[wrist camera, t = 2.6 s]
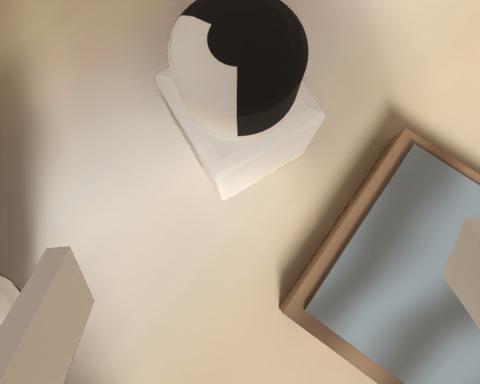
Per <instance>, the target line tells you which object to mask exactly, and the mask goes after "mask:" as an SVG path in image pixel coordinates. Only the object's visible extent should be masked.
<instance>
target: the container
mask: <svg viewBox="0 0 480 384" xmlns="http://www.w3.org/2000/svg"><path fill="white" fill-rule="evenodd" d="M168 62H169V67H167V68H165V69H163V70H161V71H160V72H158V73H156V74H155V77H154V80H155V83H156V85H157V87H158V89H159V91H160V93H161V95H162V97H163V99H164V101H165V103H166V105H167V107H168V109H169V111H170V113H171V115H172V117H173V119H174V121H175V123H176V125H177V126H178V128H179V130H180V131H181V133H182V135H183V136H184V138H185V140H186V141H187V143H188V145H189V146H190V148H191V150H192V151H193V153H194V155H195V156H196V158H197V160H198V161H199V163H200V165H201V166H202V168H203V170H204V171H205V173H206V175H207V176H208V178H209V180H210V181H211V183H212V185H213V186H214V188H215V190H216V191H217V193H218V195H219V196H220V198H221V199H223V200H226V199H228V198H230V197H232V196H233V195H235V194H237V193H239V192H240V191H242V190H244V189H245V188H247V187H249V186H250V185H252V184H254V183H255V182H257V181H259V180H260V179H262V178H264V177H265V176H267V175H269V174H271V173H272V172H274V171H276V170H277V169H279V168H281V167H282V166H284V165H286V164H287V163H289V162H291V161H292V160H294V159H296V158H297V157H299V156H301V155H303V154H304V153H305V151H306V149H307V148H308V146H309V144H310V143H311V141H312V139H313V138H314V136H315V134H316V133H317V131H318V129H319V128H320V126H321V124H322V122H323V121H324V119H325V116H326V113H325V110H324V109H323V108H322V106H321V105H320V103H319V102H318V100H317V99H316V97H315V96H314V95H313V93H312V92H311V90H310V89H309V87H308V86H307V84H306V83H305V81H304V80H303V76H304V73H305V69H306V66H307V62H308V42H307V37H306V34H305V31H304V28H303V26H302V24H301V22H300V21H299V19H298V17H297V16H296V15H295V14H294V12H293V11H292V10H291V9H290V8H289V7H288V6H287V5H286V4H284V3H283V2H282V1H280V0H196V1H195V2H194V3H192V4H191V5H190V6H189V7H188V8H187V9H185V10H184V12H183V13H182V14H181V15H180V17H179V18H178V19H177V21H176V23H175V24H174V27H173V29H172V31H171V34H170V38H169V42H168Z"/></svg>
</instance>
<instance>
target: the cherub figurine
mask: <svg viewBox="0 0 480 384" xmlns="http://www.w3.org/2000/svg"><path fill="white" fill-rule="evenodd" d="M19 294H20V292H19V291H18V289H17V288H16V287H15V286H14V284H13V283H12V281H10V280H8V279H6V278H5V277H2V276H0V326H1V324H2V322H3V321H4V319H5V317H6V316H7V314H8V312H9V311H10V309H11V307H12V306H13V304H14V302H15V301H16V299H17V297H18V296H19Z"/></svg>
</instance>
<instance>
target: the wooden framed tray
mask: <svg viewBox="0 0 480 384" xmlns="http://www.w3.org/2000/svg"><path fill="white" fill-rule="evenodd" d="M473 217H480V174H478V173H477V172H475V171H474V170H472V169H470V168H469V167H467V166H466V165H464V164H463V163H461V162H459V161H458V160H456V159H455V158H453V157H452V156H450V155H448V154H447V153H445V152H444V151H442V150H441V149H439V148H437V147H436V146H434V145H433V144H431V143H430V142H428V141H426V140H425V139H423V138H422V137H420V136H419V135H417V134H415V133H414V132H412V131H411V130H409V129H408V128H405V129H404V130H402V131H401V132H400V133H399V134H397V135H396V136H395V137H394V138H392V139H391V141H390V142H389V144H388V145H387V147H386V148H385V150H384V151H383V153H382V154H381V156H380V157H379V159H378V160H377V162H376V163H375V165H374V166H373V168H372V169H371V171H370V172H369V174H368V175H367V177H366V178H365V180H364V181H363V183H362V184H361V186H360V187H359V189H358V190H357V192H356V193H355V195H354V196H353V198H352V199H351V201H350V202H349V204H348V205H347V207H346V208H345V210H344V211H343V213H342V214H341V216H340V217H339V218H338V220H337V221H336V223H335V224H334V226H333V227H332V229H331V230H330V232H329V233H328V235H327V236H326V238H325V239H324V241H323V242H322V244H321V245H320V247H319V248H318V250H317V251H316V253H315V254H314V256H313V257H312V259H311V260H310V262H309V263H308V265H307V266H306V268H305V269H304V271H303V272H302V274H301V275H300V277H299V278H298V280H297V281H296V283H295V284H294V286H293V287H292V289H291V290H290V292H289V293H288V295H287V296H286V298H285V299H284V301H283V302H282V304H281V305H280V307H279V308H280V310H281V311H282V313H283V314H285V315H286V316H288V317H289V318H290V319H292V320H293V321H294V322H296V323H297V324H298V325H300V326H301V327H302V328H304V329H305V330H306V331H308V332H309V333H310V334H312V335H313V336H315V337H316V338H317V339H319V340H320V341H321V342H323V343H324V344H325V345H327V346H328V347H329V348H331V349H332V350H333V351H335V352H336V353H338V354H339V355H340V356H342V357H343V358H344V359H346V360H347V361H348V362H350V363H351V364H352V365H354V366H355V367H356V368H358V369H359V370H360V371H362V372H363V373H365V374H366V375H367V376H369V377H370V378H371V379H373V380H374V381H375V382H377V383H378V384H480V329H479V328H478V326H477V325H476V323H475V322H474V320H473V319H472V317H471V316H470V315H469V313H468V312H467V310H466V309H465V307H464V306H463V304H462V303H461V302H460V300H459V299H458V297H457V296H456V294H455V293H454V291H453V290H452V289H451V287H450V286H449V284H448V283H447V281H446V280H445V278H444V277H443V276H442V275H443V272H444V270H445V267H446V265H447V262H448V260H449V257H450V254H451V252H452V249H453V247H454V244H455V242H456V239H457V237H458V234H459V232H460V229H461V227H462V224H463V222H464V219H465V218H473Z"/></svg>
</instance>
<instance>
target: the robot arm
mask: <svg viewBox="0 0 480 384" xmlns="http://www.w3.org/2000/svg"><path fill="white" fill-rule="evenodd" d="M442 276H443V277H444V278H445V280H446V281H447V283H448V284H449V286H450V287H451V289H452V290H453V291H454V293H455V294H456V296H457V297H458V299H459V300H460V302H461V303H462V304H463V306H464V307H465V309H466V310H467V312H468V313H469V315H470V316H471V317H472V319H473V320H474V322H475V323H476V325H477V326H478V328H479V329H480V217H473V218H465V219H464V222H463V224H462V227H461V229H460V232H459V234H458V237H457V239H456V242H455V244H454V247H453V249H452V252H451V254H450V257H449V260H448V262H447V265H446V267H445V270H444V272H443V275H442ZM93 303H94V299H93V297H92V294H91V292H90V290H89V288H88V285H87V283H86V281H85V279H84V277H83V274H82V272H81V270H80V268H79V266H78V263H77V261H76V259H75V257H74V254H73V252H72V250H71V248H70V247H57V248H47V249H46V250H45V252H44V254H43V255H42V257H41V259H40V260H39V262H38V264H37V265H36V267H35V269H34V270H33V272H32V274H31V275H30V277H29V279H28V281H27V282H26V284H25V286H24V287H23V289H22V291H21V292H20V294H19V296H18V297H17V299H16V301H15V302H14V304H13V306H12V307H11V309H10V311H9V312H8V314H7V316H6V317H5V319H4V321H3V322H2V324H1V326H0V384H64V382H65V379H66V376H67V374H68V371H69V368H70V365H71V363H72V360H73V357H74V355H75V352H76V349H77V346H78V344H79V341H80V338H81V335H82V333H83V330H84V327H85V325H86V322H87V319H88V316H89V314H90V311H91V308H92V306H93Z"/></svg>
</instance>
